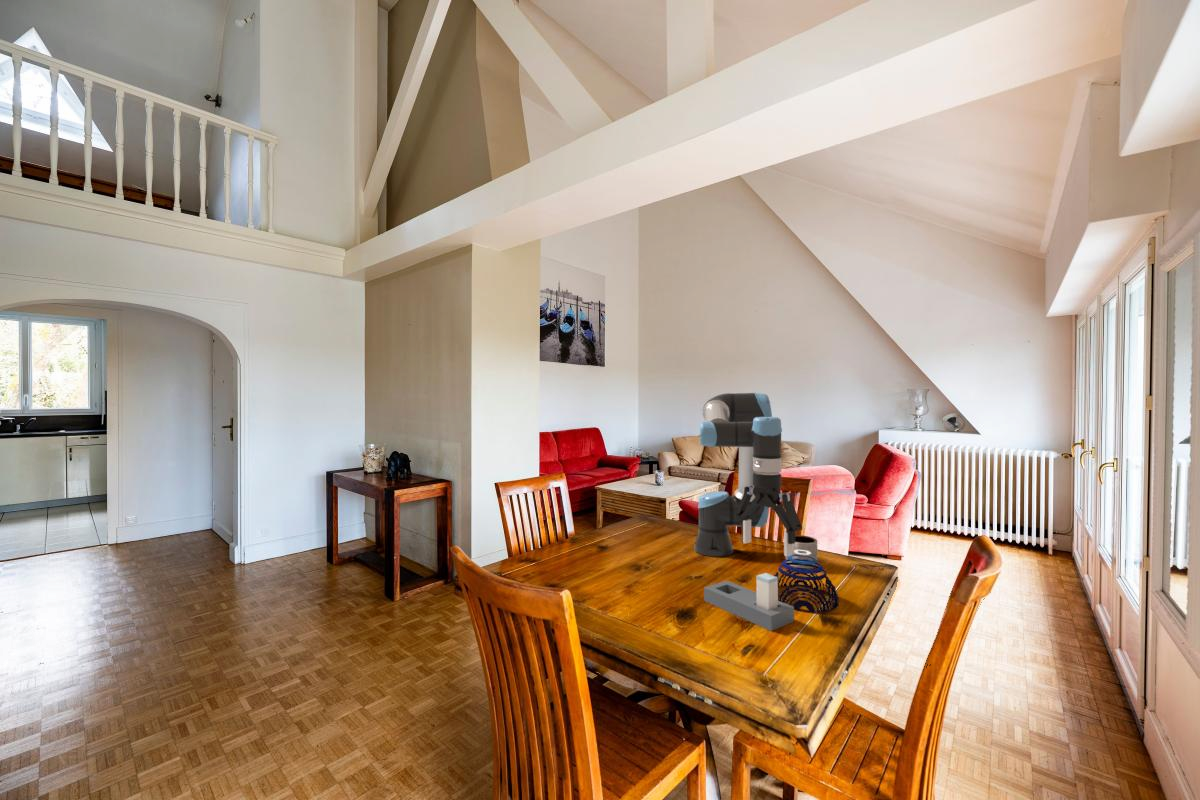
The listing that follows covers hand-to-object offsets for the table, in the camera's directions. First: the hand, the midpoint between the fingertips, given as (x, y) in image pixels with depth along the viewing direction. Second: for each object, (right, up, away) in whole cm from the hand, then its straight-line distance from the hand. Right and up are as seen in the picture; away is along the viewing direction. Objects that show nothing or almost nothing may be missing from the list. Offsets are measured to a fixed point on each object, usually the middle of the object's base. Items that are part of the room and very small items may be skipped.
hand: (767, 548), depth 138 cm
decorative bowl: (+15, -20, +14) cm, 29 cm away
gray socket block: (-4, -20, +6) cm, 21 cm away
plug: (0, -20, 0) cm, 20 cm away
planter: (+28, -20, +44) cm, 56 cm away
